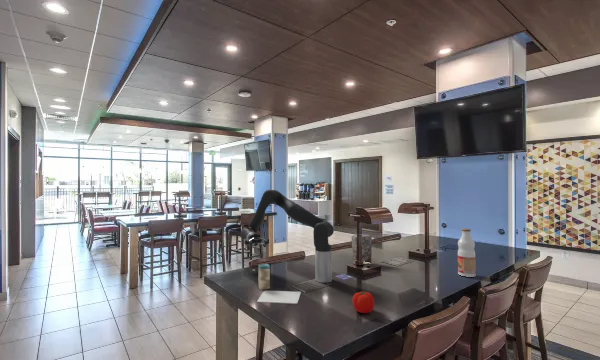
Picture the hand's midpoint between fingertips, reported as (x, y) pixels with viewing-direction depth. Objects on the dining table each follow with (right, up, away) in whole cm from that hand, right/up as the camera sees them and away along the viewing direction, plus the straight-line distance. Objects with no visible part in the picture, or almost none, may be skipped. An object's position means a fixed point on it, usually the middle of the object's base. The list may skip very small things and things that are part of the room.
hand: (259, 243), depth 174 cm
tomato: (+51, -21, -43) cm, 69 cm away
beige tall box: (+4, -21, -11) cm, 24 cm away
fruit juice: (+123, -22, +9) cm, 125 cm away
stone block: (+66, -23, +38) cm, 80 cm away
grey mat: (+13, -21, -25) cm, 35 cm away
